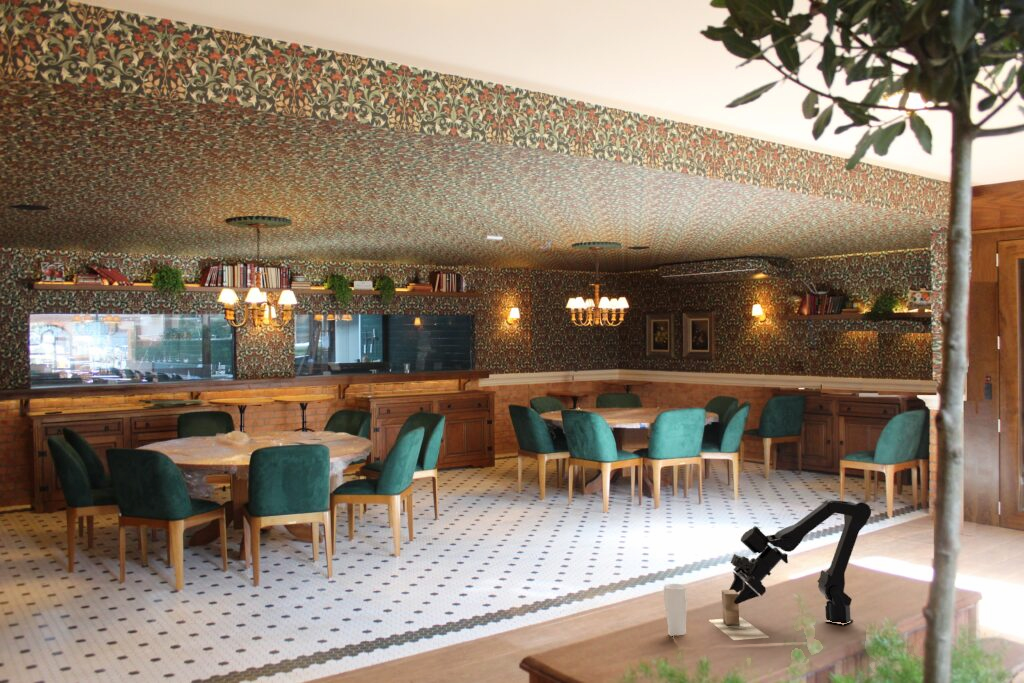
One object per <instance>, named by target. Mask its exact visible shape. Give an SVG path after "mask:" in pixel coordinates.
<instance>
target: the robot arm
mask: <svg viewBox="0 0 1024 683" xmlns="http://www.w3.org/2000/svg"><path fill="white" fill-rule="evenodd" d="M834 514H839V515H843V517H844V518H843V519H844V520H843V521H844V522H843V523H844V526H843V529H842V531H841V535H840V537H839V541H838V543H837V547H836V548H835V553H834V555H833V558H832V560H831V564H830V566H829V567H828V569H827V570H826V571H824V570H821V571H820V575H819V578H818V580H817V583H818V590H819V592H820V593H821V594H822V595H823V596H824V597H825V600H827V601H826V605H825V608H824V609H825V620H830V621H832V622H841V623H847V622H849V621H853V622H854V619H852V617H851V603H852V597H850V596H849V595H848V594H847V593H845V586H846V580H845V575H846V570H847V567H848V565H849V562H850V559H851V556H852V553H853V551H854V547H855V545H856V541H857V538H858V536H859V534H860V532H861V530H862V529H863V528H864V526H866V525H867V522H868V521H869V519H870V517H871V515H872V508H871V507H870V506H869V504H868V503H866V502H863V501H860V500H857V499H851V500H849V501H845V500H834V499H831V498H828V499H826V500H824V501H823V503H822V504H820V505H819V506H817V507H816V508H815V509H813V510H812V511H811V512H809V514H807V515H806V516H804V517H803V518H802V519H800V520H799V521H797V522H796V523H794V524H792V525H789V526H787V527H783V528H782V529H781V530H778V531H777V532H776V533H775V534H769V535H765V534H764V533H763V532H762V530H761V529H759V527H758V526H756V525H754V526H753V527H752V528H750V529H748V530H747V531H745V532H744V533H743V534H742V536H741V538H740V542H741V543H742V544H743V545H745V546H746V547H747V548H748V549H749V550H750V551H751V552H752V553H753V554H759V555H758V556H757V557H752V558H751V559H749V558H748V557H745V556H744V555H742V556H740V555H738V554H735V553H734V554H733V556H732V558H731V561H730V564H731V565H732V566H733V567H734V568H733V572H732V574H733V581H732V584H730V587H729V589H728V590H735V591H736V592H737V593H738V596H737V597H736V599H735V600H734V603H735V604H741V603H744V602H746V601H749V600H751V599H754V598H759V597H760V596H761V597H763V595H764V594H765V593H766V592H767V591H766V589H767V588H766V587H765V586H764V584H763V582H762V581H763V580H764V579H765V578H766V576H768V577H769V576H770V575H772V573H771V572H772V570H773V569H774V568H775V567H776V565H778V564H779V562H781V561H782V562H784V563H785V564H788V563H789V560H788V556H789V555H788V553H786V552H789V553H790V552H793V551H794V550H796V548H797V547H798V546H799V545H800V544H801V542H802V541H803V540H804V538H805V537H806V536H807V534H809V533H810V532H812V531H813V530H814V529H816V528H817V527H818V526H820V525H821V524H822V523H823V522H825V521H826V520H827V519H829V518H830V517H831V516H833V515H834ZM769 544H770V545H771V546H773V547H771V546H770V545H769ZM778 548H779V549H780V550H779V549H778ZM781 550H782V551H783V552H785V553H783V552H782V551H781Z"/></svg>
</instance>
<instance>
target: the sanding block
mask: <svg viewBox="0 0 1024 683" xmlns="http://www.w3.org/2000/svg"><path fill="white" fill-rule="evenodd" d="M738 594H739V592H738V593H737V592H736V591H735V590H729V589H723V590H722V589H721V605H722V619H723V622H724V623H725V625H726V626H740V622H739V617H740V608H739V604H740V603H739V604H735V603H734V600H735V599H736V597H737V596H738Z"/></svg>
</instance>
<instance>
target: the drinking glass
mask: <svg viewBox="0 0 1024 683" xmlns="http://www.w3.org/2000/svg"><path fill="white" fill-rule="evenodd" d="M686 587H687V586H686V585H684V584H683V583H682V584H681V583H680V584H679V583H669V584H666V585H665V584H664V586H663V597H664V608H665V613H666V614H665V615H666V620H667V621H666V623H667V632H668V635H669V636H670V637H672V636H673V638H675V636H683V635H687V625H686V624H687V603H688V602H687V599H688V598H687V588H686Z"/></svg>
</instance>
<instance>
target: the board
mask: <svg viewBox="0 0 1024 683" xmlns="http://www.w3.org/2000/svg"><path fill="white" fill-rule="evenodd" d="M708 621H709V622H710V623H711V624H712V625H714V626H715V627H716V628H718V629H719V630H720V631H721V632H722V633H723V634H725V635H727V637H729V638H730V639H732V641H740V640H741V641H744V640H754V639H766V638H770V637H769V636H768V635H766V634H765V633H764V632H762V631H761V630H760V629H759V628H757V627H756V626H754V625H753V624H751V623H750V622H748V621H747V620H745V619H744V618H742V617H740V616H739V622H740V626H726V625H725V623H724V622H723V618H718V619H717V618H716V619H709V620H708Z"/></svg>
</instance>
